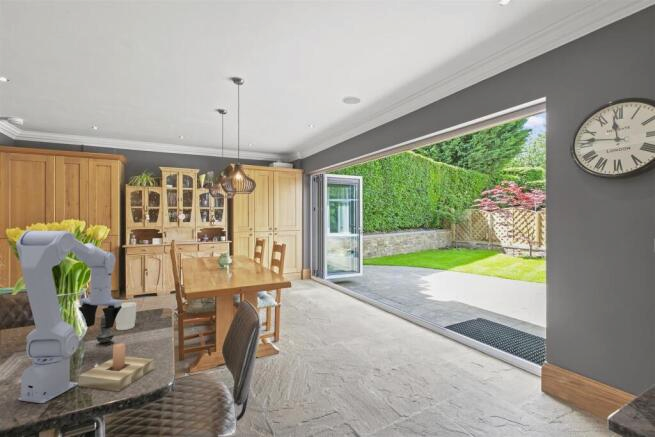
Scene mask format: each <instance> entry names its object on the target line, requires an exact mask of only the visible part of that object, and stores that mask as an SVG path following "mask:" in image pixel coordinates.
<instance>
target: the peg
mask: <svg viewBox="0 0 655 437" xmlns="http://www.w3.org/2000/svg"><path fill="white" fill-rule="evenodd" d="M125 357H126V343H125V342H121V343H116V344H113V347H112V358H113V371H120V370H122V369H124V368H125Z"/></svg>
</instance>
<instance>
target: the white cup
mask: <svg viewBox="0 0 655 437" xmlns="http://www.w3.org/2000/svg"><path fill="white" fill-rule="evenodd" d="M137 305H138V302H133V301H131V302H130V301H128V302H121V306H122V308H121V309H120V311H119V312H118V314H117V316H116V319H115V324H116V325H115V328H116V330H117V331H126V330H130V329H133V328H135V325H136V318H137Z"/></svg>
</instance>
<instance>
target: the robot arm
mask: <svg viewBox="0 0 655 437" xmlns="http://www.w3.org/2000/svg"><path fill="white" fill-rule="evenodd" d="M15 246H16V250H17V255H18V259H19V262H20V266H21V268H20V269H21V273H22V278H23V281H24V282H23V283H24V285H25V289H26V293H27V298H28V302H29V306H30V310H31V314H32V318H33V321H34V326H35V328H33V330H31V331H30V332H29V333H28V335H26V337H25V339H26V348H25V350H26V351H25V352H26V355H27V357H28V358H30V359H31V362H32V365H31V366H29V367H28V368H25V369H24V371H22V374H21V378H20V380H21V381H20V397H18V401H23V402H30V403H37V404H45V403H47V402H49V401H50V400H52V399H54V398H56V397H58V396H60V395H62V394H63V393H65V392H68V391H69V390H71V389H73V388H75V387H76V386H79V382H74V381H71V356H73V355H74V354H75V352H76V351H77V349H78V347H79V346H80V345H79V344H80V338H79V334H78V333H77V332H76V331H75V327H74V326H73V325H72V324H69V323H67V322H65V321H64V320H63V317H62V316H63V314H62V311H61V306H60V302H59V297H58V294H57V288H56V284H55V280H54V276H53V271H52V269H53V267H55V266H58V265H59V264H61V263H62V261H63V260H64V259H65V258H66V257H67V256H68V254H69V253H71V254H74V255H75V258H76V260H78V261H81V262H82V263H83V264H84V263H85V264H86V266H87V268H88V269H90V288H89V290H90V291H89V294H90V295H89V296H90V297H83V298H80V299H79V307H78V310H79V311H80V313H81V314H82V316H83V319H84V322H85V325H86V328H89V327H92V326H94V325H95V321H96V314H97V309H98V308H99V307H101V306H102V307H103V306H104V308H102V312H103V315H105V320H106V329H109V328H110V329H112V328H113V327H114V325H115V323H116V316H117V314H118V312H119V311H120V309H121V308H122V306H121V303H122V300H119V299H115V298H113V296H112V274H113V272H114V269H115V268H114V267H115V265H116V261H117V260H116V255H115V254H114V253H113V252H112V251H104V249H103V248H101V247H98V246H96V245H95V243H93V242H88V243H84V242H82V241H80V240H78V238H76V236H75V234H74V232H73V233H72V232H70V231H68V230H33V229H32V230H31V229H29V230H25V231H24V232H22V234H21V235H20V236H19V238H18V239H17V241H16V243H15Z"/></svg>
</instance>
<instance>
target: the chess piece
mask: <svg viewBox="0 0 655 437" xmlns="http://www.w3.org/2000/svg"><path fill="white" fill-rule="evenodd" d="M99 327H100V330H99V333H98V334H96V335H95V338H96V341H97V342H98V343H97V344H96V347H97V346H99V347H98V348H104V347H103V346H105V347H109V346H112V345H114V341H112V340H113V338H114V336H115V335H116V333H115V332H114V331H111V328H109V329H106V320H105V315H104V314H103V315H101V317H100V324H99ZM111 344H112V345H111ZM108 345H109V346H108ZM101 346H102V347H101Z"/></svg>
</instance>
